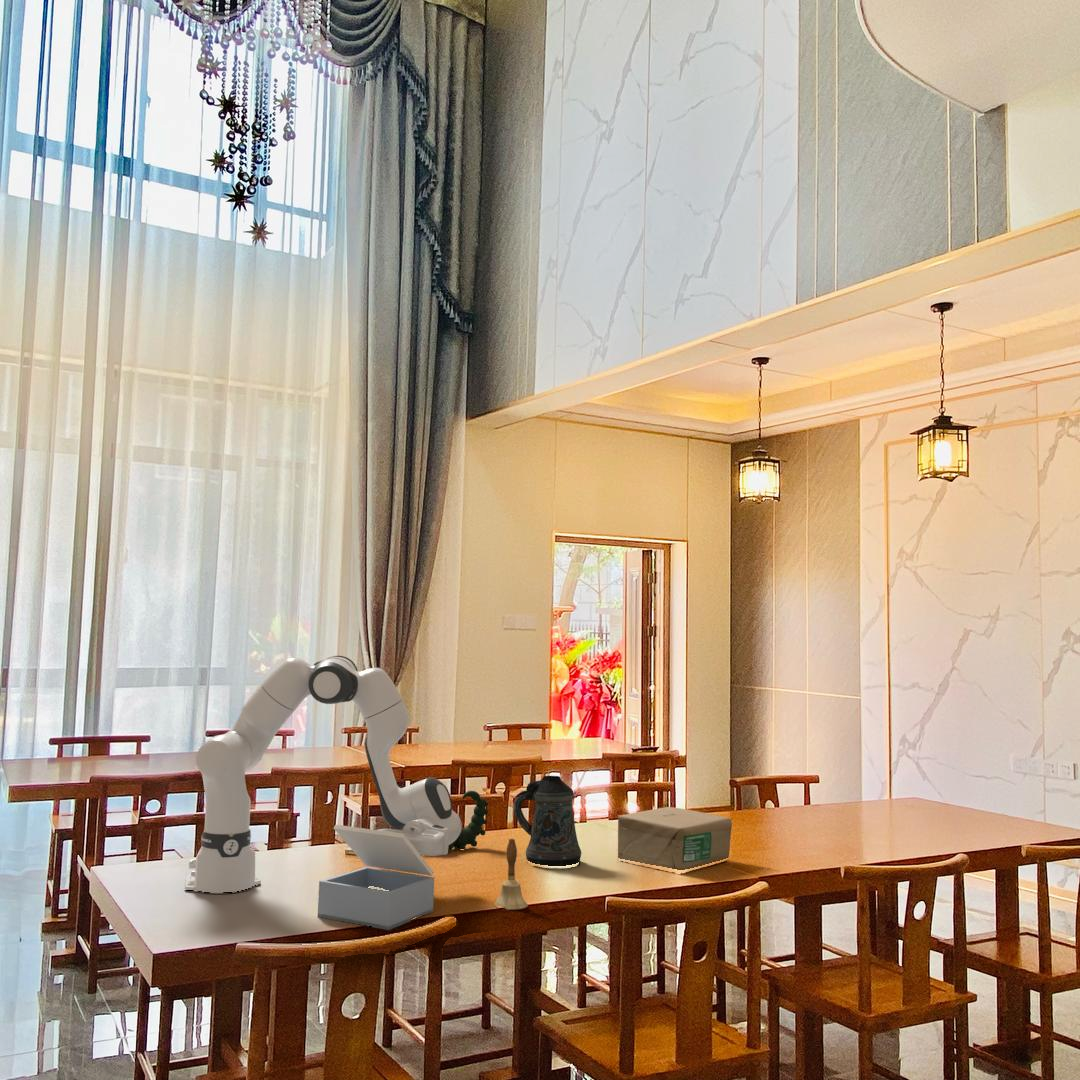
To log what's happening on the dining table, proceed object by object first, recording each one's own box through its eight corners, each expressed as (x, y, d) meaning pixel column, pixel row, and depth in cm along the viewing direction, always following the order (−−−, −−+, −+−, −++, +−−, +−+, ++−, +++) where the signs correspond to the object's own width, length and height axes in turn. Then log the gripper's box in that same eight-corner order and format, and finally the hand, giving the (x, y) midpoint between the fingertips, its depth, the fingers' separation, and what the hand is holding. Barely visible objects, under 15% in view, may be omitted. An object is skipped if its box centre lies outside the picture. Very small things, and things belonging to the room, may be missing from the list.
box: (365, 900, 249) (366, 866, 250) (433, 911, 240) (434, 877, 240) (317, 916, 233) (319, 881, 233) (388, 930, 224) (390, 893, 224)
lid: (365, 865, 249) (367, 861, 249) (432, 875, 240) (433, 871, 240) (333, 828, 238) (335, 824, 239) (401, 837, 229) (403, 833, 230)
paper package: (682, 876, 285) (682, 826, 286) (612, 861, 303) (613, 813, 304) (734, 863, 304) (735, 816, 306) (665, 849, 322) (666, 805, 323)
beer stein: (590, 867, 292) (592, 779, 294) (528, 871, 285) (530, 781, 287) (567, 855, 307) (569, 772, 310) (507, 859, 300) (510, 774, 302)
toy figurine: (475, 850, 320) (401, 848, 309) (482, 789, 323) (408, 785, 312) (487, 856, 312) (411, 854, 301) (494, 793, 314) (419, 789, 303)
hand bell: (494, 910, 243) (496, 842, 245) (493, 901, 251) (495, 835, 253) (529, 910, 244) (530, 842, 245) (526, 901, 252) (528, 836, 254)
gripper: (385, 820, 258) (352, 829, 245) (454, 828, 249) (423, 839, 236) (384, 845, 257) (351, 856, 245) (453, 855, 248) (423, 866, 236)
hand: (387, 848), depth 241 cm, fingers closed
